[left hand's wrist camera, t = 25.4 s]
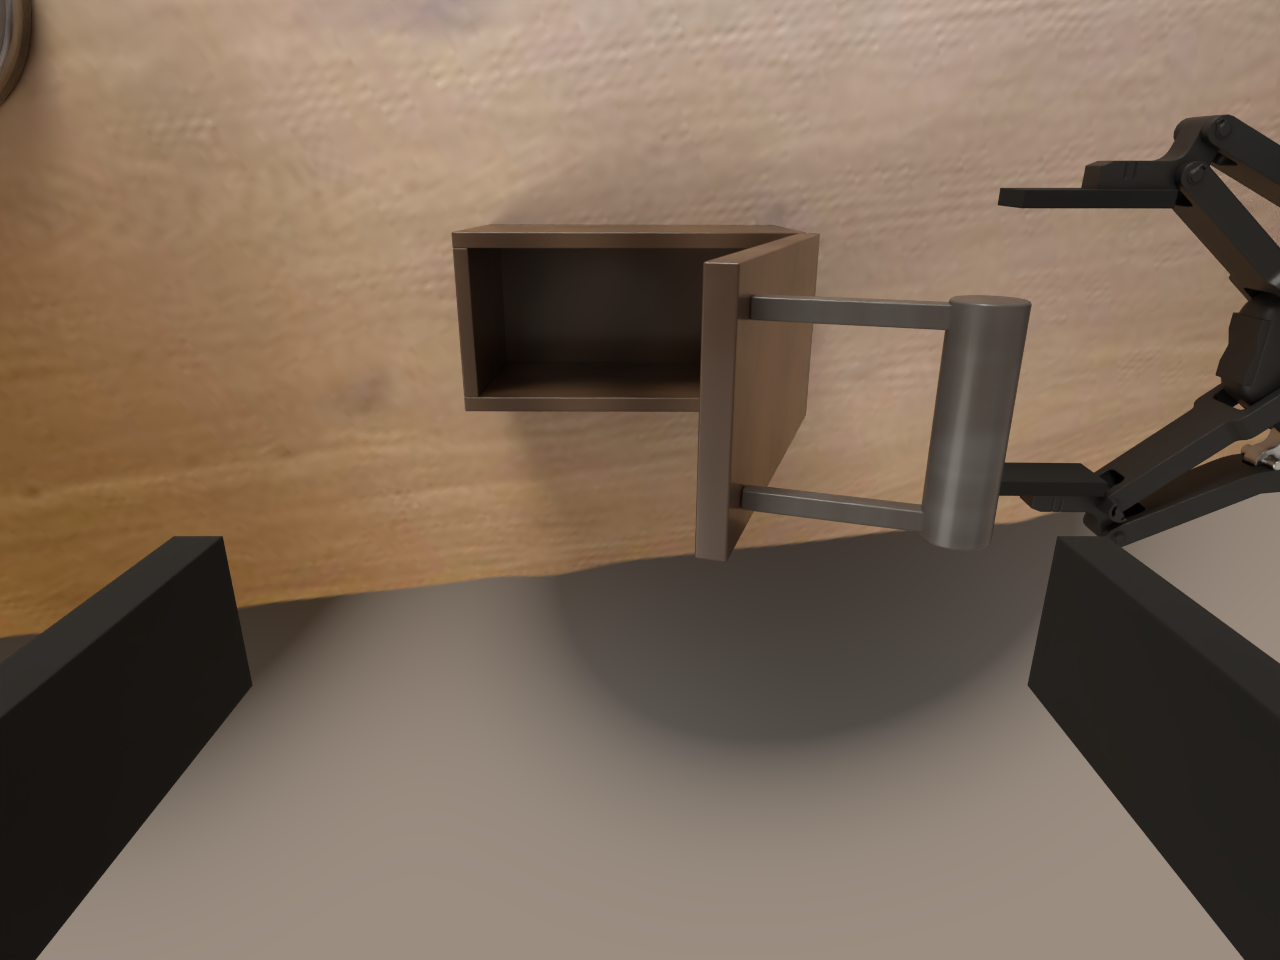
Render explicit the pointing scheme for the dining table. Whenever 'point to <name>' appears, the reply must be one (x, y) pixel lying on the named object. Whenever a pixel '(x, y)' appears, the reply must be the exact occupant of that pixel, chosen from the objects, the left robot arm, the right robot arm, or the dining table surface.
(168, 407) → the dining table surface
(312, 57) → the dining table surface
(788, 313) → the lid
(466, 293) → the chest
